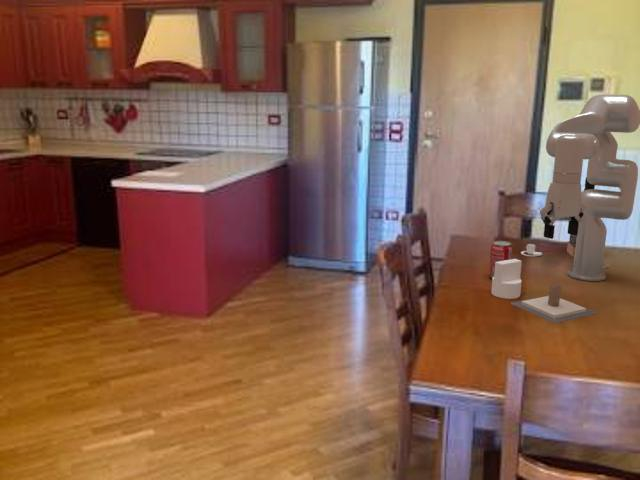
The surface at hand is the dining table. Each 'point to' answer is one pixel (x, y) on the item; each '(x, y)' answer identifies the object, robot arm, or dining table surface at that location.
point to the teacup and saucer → (531, 250)
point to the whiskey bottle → (572, 239)
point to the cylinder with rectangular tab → (507, 279)
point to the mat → (560, 319)
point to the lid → (553, 304)
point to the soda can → (499, 254)
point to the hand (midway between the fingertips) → (560, 236)
